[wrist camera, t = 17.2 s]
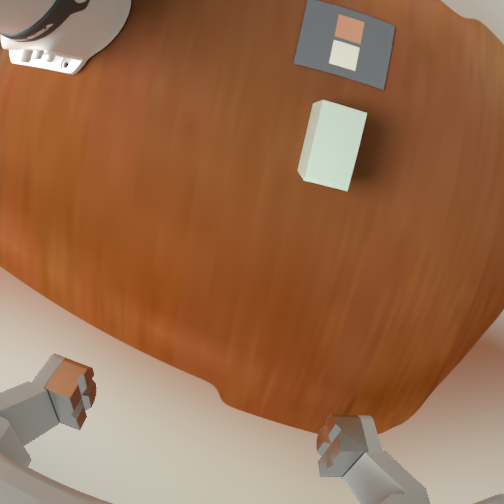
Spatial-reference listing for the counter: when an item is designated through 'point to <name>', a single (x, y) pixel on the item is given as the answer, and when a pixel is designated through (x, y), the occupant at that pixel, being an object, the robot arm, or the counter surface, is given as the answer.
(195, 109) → the counter surface
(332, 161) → the sage block
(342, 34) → the card
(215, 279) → the counter surface
